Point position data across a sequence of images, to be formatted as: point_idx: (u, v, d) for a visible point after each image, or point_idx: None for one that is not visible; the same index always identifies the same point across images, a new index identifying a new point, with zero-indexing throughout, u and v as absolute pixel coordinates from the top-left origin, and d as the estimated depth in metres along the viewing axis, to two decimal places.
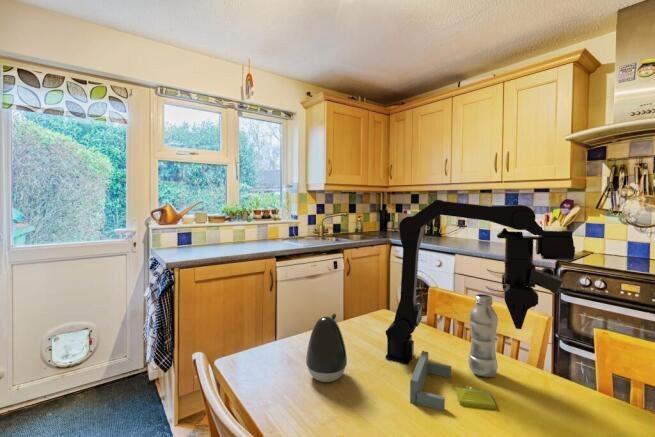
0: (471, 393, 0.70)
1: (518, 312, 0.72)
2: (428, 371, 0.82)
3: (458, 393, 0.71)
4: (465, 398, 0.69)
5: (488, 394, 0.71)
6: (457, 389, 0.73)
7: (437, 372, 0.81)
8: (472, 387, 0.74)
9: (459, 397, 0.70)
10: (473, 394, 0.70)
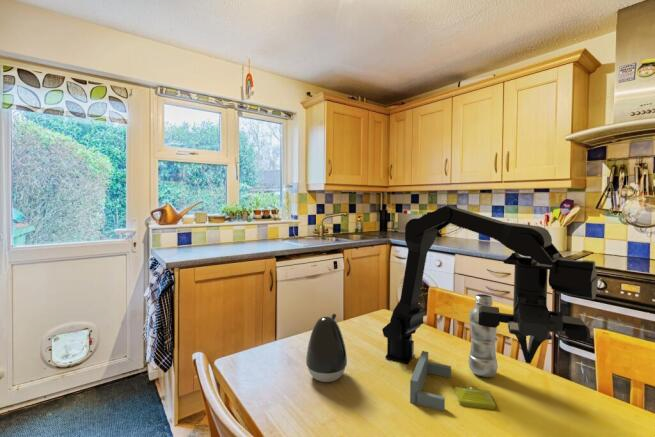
0: (471, 393, 0.70)
1: None
2: (428, 371, 0.82)
3: (458, 393, 0.71)
4: (465, 398, 0.69)
5: (488, 394, 0.71)
6: (457, 389, 0.73)
7: (437, 372, 0.81)
8: (472, 387, 0.74)
9: (459, 397, 0.70)
10: (473, 394, 0.70)
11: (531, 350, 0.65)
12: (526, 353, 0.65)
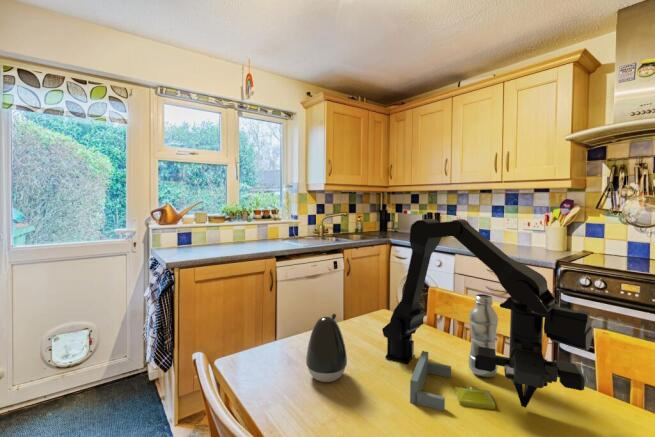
0: (470, 393, 0.70)
1: None
2: (428, 371, 0.82)
3: (458, 393, 0.71)
4: (465, 398, 0.69)
5: (488, 394, 0.71)
6: (457, 389, 0.73)
7: (437, 372, 0.81)
8: (472, 387, 0.74)
9: (459, 397, 0.70)
10: (473, 394, 0.70)
11: (527, 394, 0.66)
12: (522, 397, 0.66)
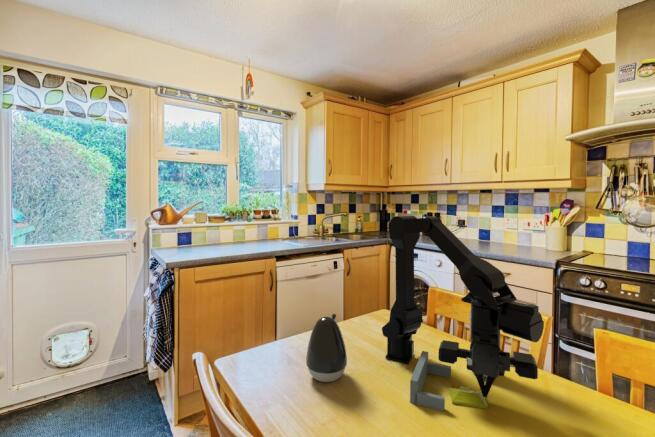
0: (464, 393, 0.71)
1: None
2: (428, 371, 0.82)
3: (451, 393, 0.72)
4: (457, 398, 0.70)
5: (481, 395, 0.71)
6: (451, 389, 0.73)
7: (437, 372, 0.81)
8: (466, 388, 0.74)
9: (452, 397, 0.70)
10: (466, 394, 0.70)
11: (487, 385, 0.69)
12: (483, 387, 0.69)
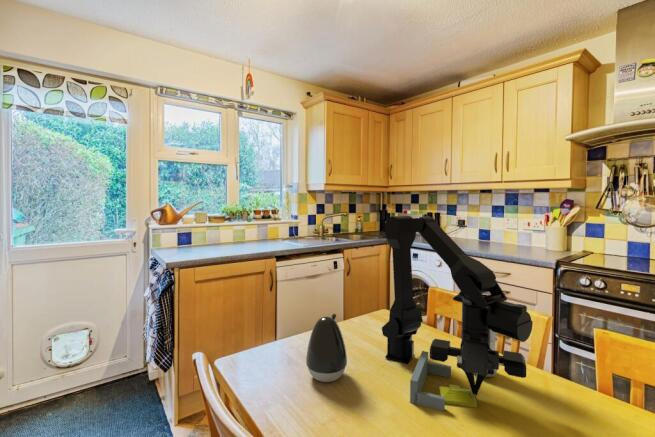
0: (453, 392, 0.71)
1: None
2: (428, 371, 0.82)
3: (441, 392, 0.72)
4: (447, 396, 0.70)
5: (471, 393, 0.71)
6: (441, 388, 0.73)
7: (437, 372, 0.81)
8: (456, 386, 0.74)
9: (442, 396, 0.71)
10: (456, 393, 0.71)
11: (477, 383, 0.70)
12: (473, 385, 0.70)
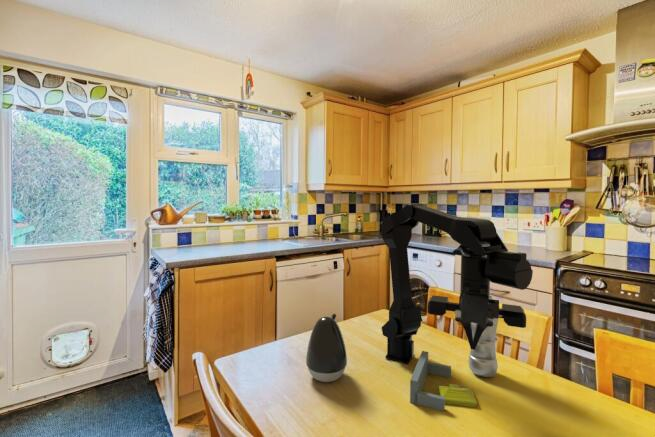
0: (453, 391, 0.71)
1: None
2: (428, 371, 0.82)
3: (441, 391, 0.72)
4: (447, 396, 0.70)
5: (470, 392, 0.71)
6: (440, 387, 0.73)
7: (437, 372, 0.81)
8: (455, 385, 0.75)
9: (441, 395, 0.71)
10: (455, 392, 0.71)
11: (475, 337, 0.68)
12: (471, 340, 0.69)
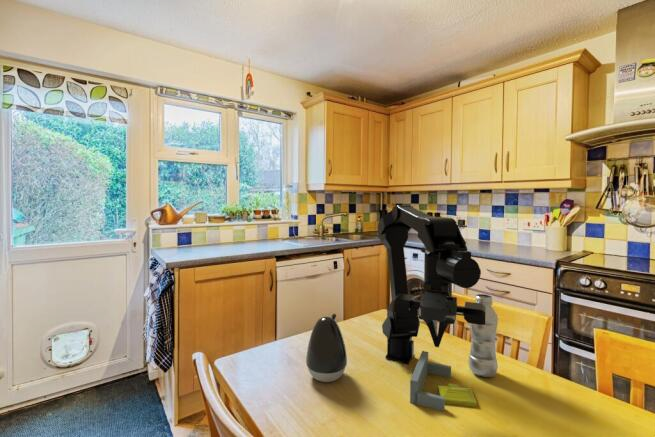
0: (453, 391, 0.71)
1: None
2: (428, 371, 0.82)
3: (440, 391, 0.72)
4: (447, 396, 0.70)
5: (470, 392, 0.71)
6: (440, 387, 0.73)
7: (437, 372, 0.81)
8: (454, 385, 0.75)
9: (441, 395, 0.71)
10: (455, 392, 0.71)
11: (438, 334, 0.69)
12: (434, 337, 0.69)
